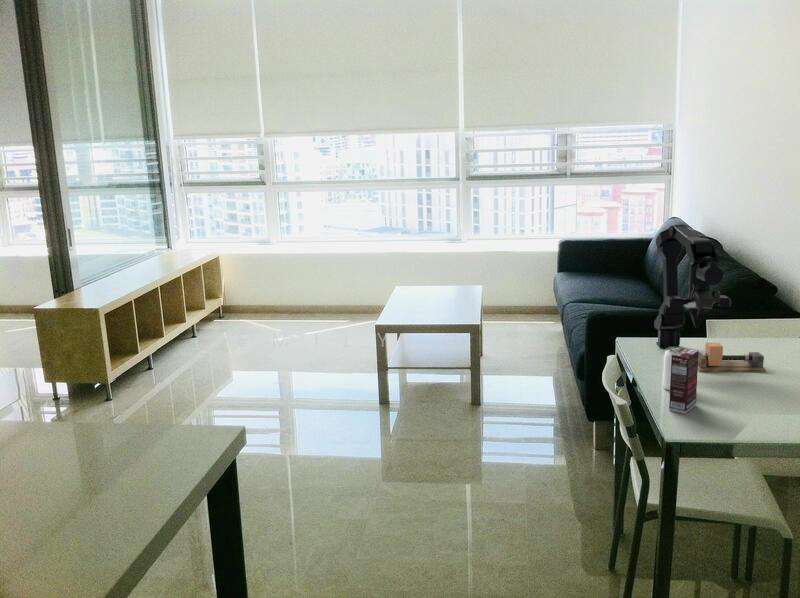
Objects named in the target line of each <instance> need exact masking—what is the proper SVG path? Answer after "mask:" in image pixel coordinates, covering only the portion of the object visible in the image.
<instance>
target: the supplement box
mask: <svg viewBox="0 0 800 598" xmlns="http://www.w3.org/2000/svg"><path fill="white" fill-rule="evenodd" d="M699 352H700V351H699V349H691V348H685V347H682V349H680V350H679V351H677V352H676V353H674V354H673V355H672V360H671V381H670V391H669V400H668V401H669V403H668V404H669V405H668V410H669V412H670V411H671V412H674V413H677V414H678V413H679V414H684V415H686V414H687V413H688V412H689V411H691V410H692V409H693V408H694V407H695V406H696V405H697V388H698V372H699V371H698V353H699Z"/></svg>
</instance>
